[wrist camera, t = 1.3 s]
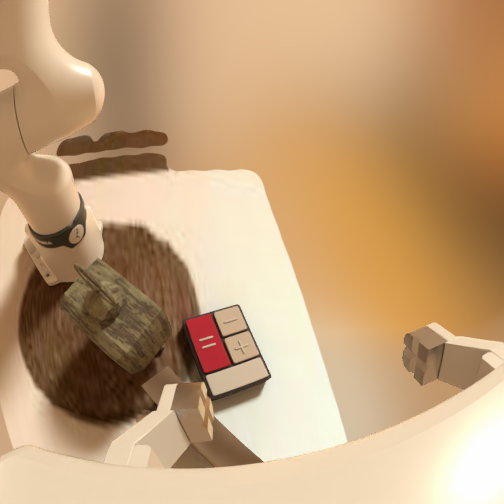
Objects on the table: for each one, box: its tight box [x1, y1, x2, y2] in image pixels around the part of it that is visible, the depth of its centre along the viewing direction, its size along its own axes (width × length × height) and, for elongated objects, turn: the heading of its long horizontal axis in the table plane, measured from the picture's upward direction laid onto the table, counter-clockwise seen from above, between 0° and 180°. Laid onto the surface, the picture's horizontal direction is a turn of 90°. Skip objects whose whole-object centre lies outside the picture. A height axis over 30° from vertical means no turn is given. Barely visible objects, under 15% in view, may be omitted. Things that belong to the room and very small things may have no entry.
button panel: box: [142, 366, 263, 467], centre depth 32 cm, size 4×20×18 cm, turn 45°
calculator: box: [183, 305, 271, 401], centre depth 47 cm, size 11×4×15 cm
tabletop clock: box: [61, 258, 172, 375], centre depth 35 cm, size 14×9×25 cm, turn 60°
